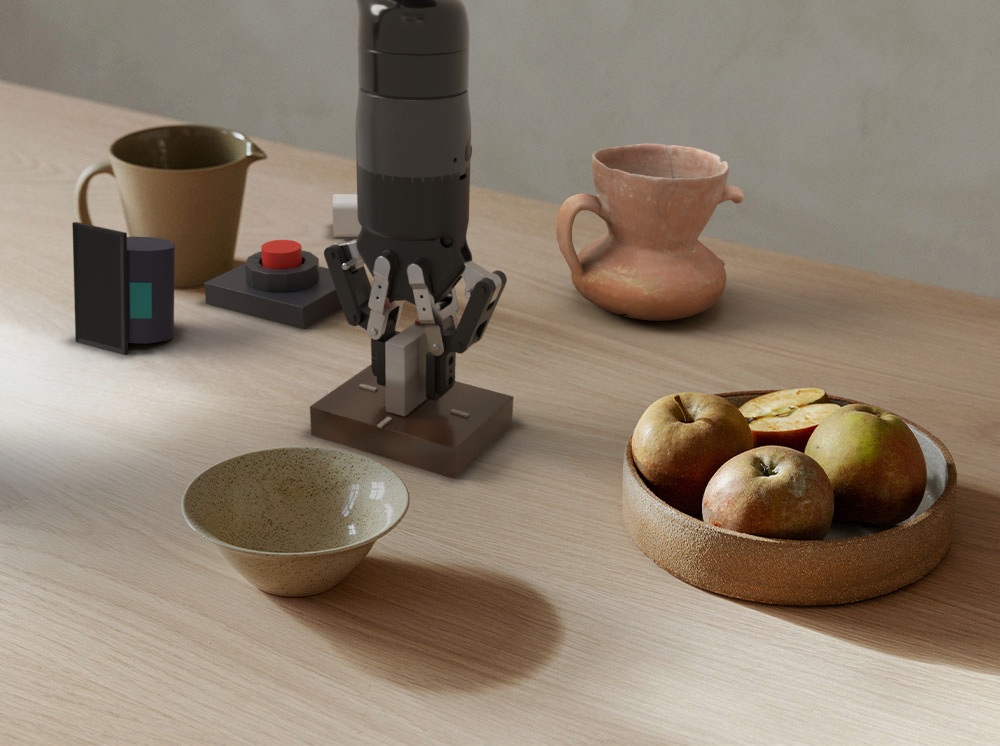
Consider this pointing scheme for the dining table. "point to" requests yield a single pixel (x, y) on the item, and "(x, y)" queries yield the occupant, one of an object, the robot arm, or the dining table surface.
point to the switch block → (276, 291)
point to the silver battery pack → (406, 369)
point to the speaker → (122, 288)
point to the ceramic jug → (649, 231)
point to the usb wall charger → (345, 216)
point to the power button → (281, 254)
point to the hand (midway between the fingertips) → (413, 387)
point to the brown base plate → (413, 424)
